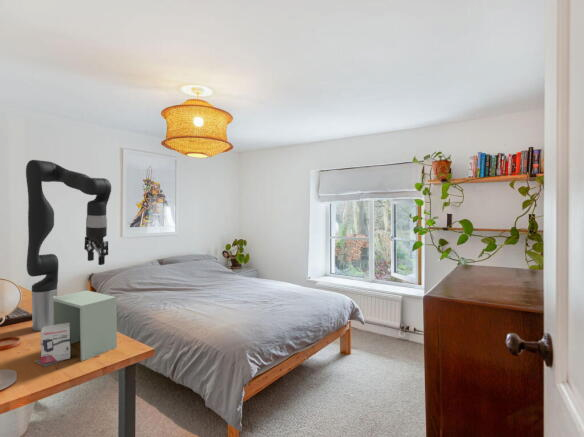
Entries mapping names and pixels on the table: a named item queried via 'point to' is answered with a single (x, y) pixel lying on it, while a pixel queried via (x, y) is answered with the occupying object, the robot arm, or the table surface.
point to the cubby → (88, 320)
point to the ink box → (55, 343)
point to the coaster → (48, 363)
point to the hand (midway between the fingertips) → (95, 262)
